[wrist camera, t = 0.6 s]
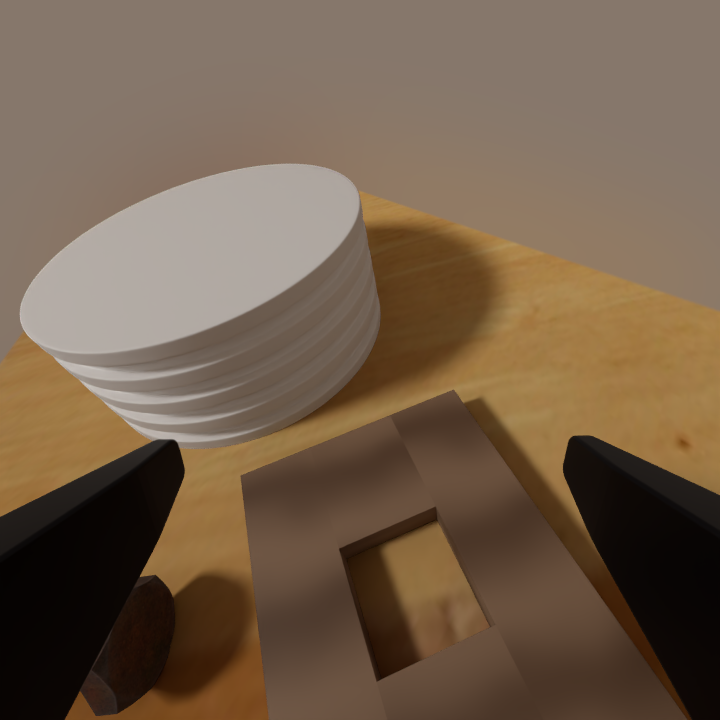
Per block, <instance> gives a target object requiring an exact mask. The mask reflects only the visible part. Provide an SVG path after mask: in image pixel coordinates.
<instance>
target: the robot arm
mask: <svg viewBox="0 0 720 720" xmlns="http://www.w3.org/2000/svg"><path fill="white" fill-rule="evenodd" d="M184 473H185V469H184V464H183V460H182V456H181V452H180V448H179V445H178V443H177V441H176V440H174V439H158V440H155V441H153V442H151V443H148V444H146V445H144V446H142V447H140V448H138V449H136V450H134V451H132V452H130V453H128V454H126V455H124V456H122V457H120V458H118V459H116V460H114V461H112V462H110V463H108V464H106V465H104V466H102V467H100V468H98V469H96V470H94V471H92V472H90V473H88V474H86V475H84V476H82V477H80V478H78V479H76V480H74V481H72V482H70V483H68V484H66V485H64V486H62V487H60V488H58V489H56V490H54V491H52V492H50V493H48V494H46V495H44V496H42V497H40V498H38V499H35V500H33V501H31V502H29V503H27V504H25V505H23V506H21V507H19V508H17V509H15V510H13V511H11V512H9V513H7V514H5V515H3V516H1V517H0V720H65V718H66V716H67V714H68V713H69V711H70V709H71V707H72V705H73V703H74V701H75V699H76V697H77V695H78V693H79V691H80V690H81V688H82V686H83V684H84V682H85V680H86V678H87V676H88V674H89V672H90V670H91V668H92V667H93V665H94V663H95V661H96V659H97V657H98V655H99V653H100V651H101V649H102V647H103V646H104V644H105V642H106V640H107V638H108V636H109V634H110V632H111V630H112V628H113V626H114V624H115V623H116V621H117V619H118V617H119V615H120V613H121V611H122V609H123V607H124V605H125V603H126V602H127V600H128V598H129V596H130V594H131V592H132V590H133V588H134V586H135V584H136V582H137V580H138V579H139V577H140V575H141V573H142V571H143V569H144V567H145V565H146V563H147V561H148V559H149V558H150V556H151V554H152V552H153V550H154V548H155V546H156V544H157V542H158V540H159V538H160V535H161V533H162V531H163V528H164V526H165V523H166V521H167V518H168V516H169V513H170V511H171V508H172V506H173V503H174V501H175V498H176V496H177V493H178V491H179V488H180V486H181V483H182V481H183V478H184ZM563 473H564V477H565V479H566V481H567V484H568V486H569V488H570V491H571V493H572V495H573V498H574V500H575V502H576V505H577V507H578V509H579V512H580V514H581V516H582V519H583V521H584V523H585V526H586V528H587V530H588V532H589V534H590V537H591V539H592V541H593V543H594V544H595V546H596V548H597V550H598V552H599V554H600V556H601V557H602V559H603V561H604V563H605V565H606V566H607V568H608V570H609V572H610V573H611V575H612V577H613V579H614V581H615V582H616V584H617V586H618V588H619V590H620V591H621V593H622V595H623V597H624V599H625V600H626V602H627V604H628V606H629V608H630V609H631V611H632V613H633V615H634V617H635V618H636V620H637V622H638V624H639V626H640V627H641V629H642V631H643V633H644V634H645V636H646V638H647V640H648V642H649V643H650V645H651V647H652V649H653V651H654V652H655V654H656V656H657V658H658V660H659V661H660V663H661V665H662V667H663V669H664V670H665V672H666V674H667V676H668V678H669V679H670V681H671V683H672V685H673V687H674V688H675V690H676V692H677V694H678V695H679V697H680V699H681V701H682V703H683V704H684V706H685V708H686V710H687V712H688V713H689V715H690V717H691V719H692V720H720V495H718V494H716V493H714V492H712V491H710V490H707V489H705V488H703V487H701V486H699V485H697V484H695V483H692V482H690V481H688V480H686V479H684V478H682V477H679V476H677V475H675V474H673V473H671V472H669V471H667V470H664V469H662V468H660V467H658V466H656V465H654V464H651V463H649V462H647V461H645V460H643V459H641V458H639V457H636V456H634V455H632V454H630V453H628V452H626V451H623V450H621V449H619V448H617V447H615V446H613V445H611V444H608V443H606V442H604V441H602V440H600V439H598V438H595V437H593V436H589V435H587V436H572V437H571V438H570V439H569V442H568V446H567V450H566V454H565V459H564V463H563Z"/></svg>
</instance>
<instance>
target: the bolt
mask: <svg viewBox="0 0 720 720" xmlns="http://www.w3.org/2000/svg"><path fill="white" fill-rule="evenodd" d="M174 625H175V613H174V601H173V597H172V594H171V592H170V590H169V589H168V587H167V586H166V585H165V584H164V582H163V581H162V580H161V579H159V578H158V577H157V576H156V575H152V576H144V577H139V579H138V580H137V582H136V584H135V586H134V588H133V590H132V592H131V594H130V596H129V598H128V600H127V602H126V603H125V605H124V607H123V609H122V611H121V613H120V615H119V617H118V619H117V621H116V623H115V624H114V626H113V628H112V630H111V632H110V634H109V636H108V638H107V640H106V642H105V644H104V646H103V647H102V649H101V651H100V653H99V655H98V657H97V659H96V661H95V663H94V665H93V667H92V668H91V670H90V672H89V674H88V676H87V678H86V680H85V682H84V684H83V686H82V688H81V690H80V691H81V693H82V694H83V696H84V697H85V699H86V701H87V702H88V704H89V705H90V707H91V709H92V710H93V712H94V713H95V715H96V716H101V715H110V714H118V713H119V712H121V711H122V710H124V709H125V708H127V707H129V706H130V705H132V704H133V703H134V702H136V701H137V700H138V699H140V698H141V697H142V696H143V695H144V694H146V693H147V692H148V691H149V690H150V689H151V688H152V686H153V685H154V684H155V682H156V681H157V679H158V677H159V675H160V673H161V671H162V669H163V667H164V665H165V662H166V660H167V658H168V654H169V649H170V645H171V641H172V637H173V633H174Z"/></svg>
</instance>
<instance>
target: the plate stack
mask: <svg viewBox="0 0 720 720" xmlns="http://www.w3.org/2000/svg"><path fill="white" fill-rule="evenodd" d="M380 319H381V311H380V304H379V298H378V294H377V288H376V282H375V277H374V272H373V267H372V260H371V255H370V250H369V247H368V238H367V233H366V228H365V223H364V220H363V211H362V206H361V200H360V195H359V192H358V190H357V188H356V187H355V185H354V184H353V183H352V182H351V181H350V180H349V179H348V178H347V177H345V176H344V175H342V174H340V173H338V172H336V171H334V170H331V169H328V168H324V167H320V166H314V165H305V164H272V165H262V166H254V167H248V168H242V169H237V170H233V171H228V172H224V173H219V174H215V175H212V176H208V177H204V178H201V179H198V180H194V181H192V182H188V183H185V184H183V185H180V186H177V187H174V188H171V189H169V190H166V191H164V192H161V193H159V194H156V195H154V196H152V197H149V198H147V199H145V200H143V201H141V202H138V203H136V204H134V205H132V206H130V207H128V208H126V209H124V210H122V211H120V212H119V213H117V214H115V215H113V216H111V217H109V218H108V219H106V220H104V221H103V222H101V223H99V224H98V225H96V226H94V227H93V228H91V229H90V230H89V231H87V232H85V233H84V234H82V235H81V236H80V237H78V238H77V239H75V240H74V241H73V242H71V243H70V244H69V245H68V246H66V247H65V248H64V249H63V250H61V252H59V253H58V254H57V255H56V256H55V257H54V258H53V259H51V260H50V261H49V262H48V263H47V264H46V266H45V267H44V268H43V269H42V270H41V271H40V272H39V273H38V275H37V276H36V277H35V278H34V280H33V281H32V283H31V284H30V286H29V288H28V289H27V291H26V293H25V295H24V298H23V300H22V303H21V307H20V321H21V325H22V327H23V329H24V331H25V333H26V334H27V335H28V336H29V337H30V338H31V339H32V340H33V341H34V342H35V343H36V344H38V345H39V346H40V347H41V348H42V349H43V350H45V351H46V352H47V353H49V354H50V355H52V356H53V357H54V358H55V359H56V360H57V362H58V363H59V364H61V365H62V366H63V367H64V368H65V369H66V370H67V371H68V372H70V373H71V374H72V375H73V376H75V377H76V378H78V379H79V380H80V381H81V382H82V383H83V384H84V385H85V386H86V387H87V388H88V389H89V390H90V391H91V392H92V393H94V394H95V395H96V396H97V397H99V398H100V399H101V400H103V402H104V403H105V404H106V405H107V406H108V407H110V408H111V409H112V410H113V411H114V412H115V413H116V414H118V415H119V416H120V417H122V418H123V419H124V420H125V421H126V422H127V423H128V424H129V425H130V426H131V427H132V428H134V429H135V430H136V431H137V432H139V433H140V434H141V435H143V436H145V437H146V438H148V439H150V440H152V441H155V440H158V439H174V440H176V441H177V443H178V445H179V448H187V449H209V448H219V447H226V446H231V445H236V444H241V443H244V442H248V441H251V440H255V439H258V438H261V437H264V436H266V435H269V434H272V433H274V432H276V431H279V430H281V429H283V428H285V427H287V426H289V425H291V424H293V423H295V422H297V421H299V420H300V419H302V418H304V417H306V416H307V415H309V414H310V413H312V412H313V411H315V410H316V409H318V408H319V407H321V406H322V405H323V404H325V403H326V402H327V401H329V400H330V399H331V398H332V397H333V396H335V395H336V394H337V393H338V392H339V391H340V390H341V389H342V388H343V387H344V386H345V385H346V384H347V383H348V382H349V381H350V380H351V379H352V378H353V377H354V376H355V374H356V373H357V372H358V371H359V369H360V368H361V367H362V365H363V364H364V362H365V361H366V359H367V357H368V356H369V354H370V352H371V350H372V348H373V346H374V344H375V341H376V338H377V335H378V331H379V327H380Z"/></svg>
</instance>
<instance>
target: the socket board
mask: <svg viewBox="0 0 720 720" xmlns="http://www.w3.org/2000/svg"><path fill="white" fill-rule="evenodd" d="M241 483H242V492H243V500H244V509H245V517H246V526H247V534H248V543H249V552H250V560H251V569H252V577H253V586H254V594H255V603H256V611H257V620H258V629H259V637H260V646H261V654H262V663H263V671H264V680H265V688H266V697H267V706H268V714H269V720H687V718H686V717H685V715H684V714H683V713H682V711H681V710H680V708H679V707H678V706H677V704H676V703H675V701H674V700H673V699H672V697H671V696H670V694H669V693H668V691H667V690H666V689H665V687H664V686H663V684H662V683H661V682H660V680H659V679H658V677H657V676H656V675H655V673H654V672H653V670H652V669H651V667H650V666H649V665H648V663H647V662H646V660H645V659H644V658H643V656H642V655H641V653H640V652H639V651H638V649H637V648H636V646H635V645H634V643H633V642H632V641H631V639H630V638H629V636H628V635H627V634H626V632H625V631H624V629H623V628H622V627H621V625H620V624H619V622H618V621H617V619H616V618H615V617H614V615H613V614H612V612H611V611H610V610H609V608H608V607H607V605H606V604H605V603H604V601H603V600H602V598H601V597H600V595H599V594H598V593H597V591H596V590H595V588H594V587H593V586H592V584H591V583H590V581H589V580H588V579H587V577H586V576H585V574H584V573H583V571H582V570H581V569H580V567H579V566H578V564H577V563H576V562H575V560H574V559H573V557H572V556H571V555H570V553H569V552H568V550H567V549H566V547H565V546H564V545H563V543H562V542H561V540H560V539H559V538H558V536H557V535H556V533H555V532H554V531H553V529H552V528H551V526H550V525H549V523H548V522H547V521H546V519H545V518H544V516H543V515H542V514H541V512H540V511H539V509H538V508H537V507H536V505H535V504H534V502H533V501H532V499H531V498H530V497H529V495H528V494H527V492H526V491H525V490H524V488H523V487H522V485H521V484H520V483H519V481H518V480H517V478H516V477H515V475H514V474H513V473H512V471H511V470H510V468H509V467H508V466H507V464H506V463H505V461H504V460H503V459H502V457H501V456H500V454H499V453H498V451H497V450H496V449H495V447H494V446H493V444H492V443H491V442H490V440H489V439H488V437H487V436H486V435H485V433H484V432H483V430H482V429H481V427H480V426H479V425H478V423H477V422H476V420H475V419H474V418H473V416H472V415H471V413H470V412H469V411H468V409H467V408H466V406H465V405H464V403H463V402H462V401H461V399H460V398H459V396H458V395H457V394H456V392H455V391H454V390H452V391H449V392H447V393H444V394H442V395H439V396H437V397H434V398H432V399H429V400H427V401H424V402H422V403H419V404H417V405H414V406H412V407H409V408H407V409H405V410H402V411H400V412H397V413H395V414H392V415H390V416H387V417H385V418H382V419H380V420H377V421H375V422H372V423H370V424H367V425H365V426H362V427H360V428H357V429H355V430H353V431H350V432H348V433H345V434H343V435H340V436H338V437H335V438H333V439H330V440H328V441H325V442H323V443H320V444H318V445H315V446H313V447H310V448H308V449H305V450H303V451H300V452H298V453H296V454H293V455H291V456H288V457H286V458H283V459H281V460H278V461H276V462H273V463H271V464H268V465H266V466H263V467H261V468H258V469H256V470H253V471H251V472H248V473H246V474H244V475H241ZM436 519H437V520H438V522H439V524H440V526H441V528H442V530H443V532H444V534H445V536H446V538H447V540H448V542H449V544H450V546H451V548H452V550H453V552H454V555H455V557H456V559H457V561H458V563H459V565H460V567H461V569H462V571H463V573H464V575H465V577H466V579H467V581H468V583H469V585H470V587H471V589H472V591H473V593H474V595H475V597H476V599H477V601H478V603H479V605H480V607H481V609H482V611H483V613H484V615H485V617H486V619H487V621H488V623H489V625H490V628H488V629H486V630H483V631H481V632H479V633H477V634H475V635H473V636H471V637H469V638H467V639H465V640H463V641H461V642H458V643H456V644H454V645H452V646H450V647H448V648H446V649H444V650H442V651H440V652H438V653H436V654H433V655H431V656H429V657H427V658H425V659H423V660H421V661H419V662H417V663H415V664H413V665H411V666H408V667H406V668H404V669H402V670H400V671H398V672H396V673H394V674H392V675H390V676H388V677H386V678H383V679H381V676H380V673H379V670H378V666H377V663H376V659H375V656H374V652H373V649H372V646H371V642H370V639H369V635H368V632H367V629H366V625H365V622H364V618H363V615H362V611H361V608H360V605H359V601H358V598H357V594H356V591H355V587H354V584H353V581H352V577H351V574H350V570H349V567H348V563H347V560H346V559H347V558H349V557H352V556H354V555H356V554H359V553H361V552H363V551H365V550H368V549H370V548H372V547H374V546H377V545H379V544H381V543H384V542H386V541H388V540H390V539H393V538H395V537H397V536H399V535H402V534H404V533H406V532H409V531H411V530H413V529H415V528H418V527H420V526H422V525H424V524H427V523H429V522H431V521H434V520H436Z"/></svg>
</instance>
